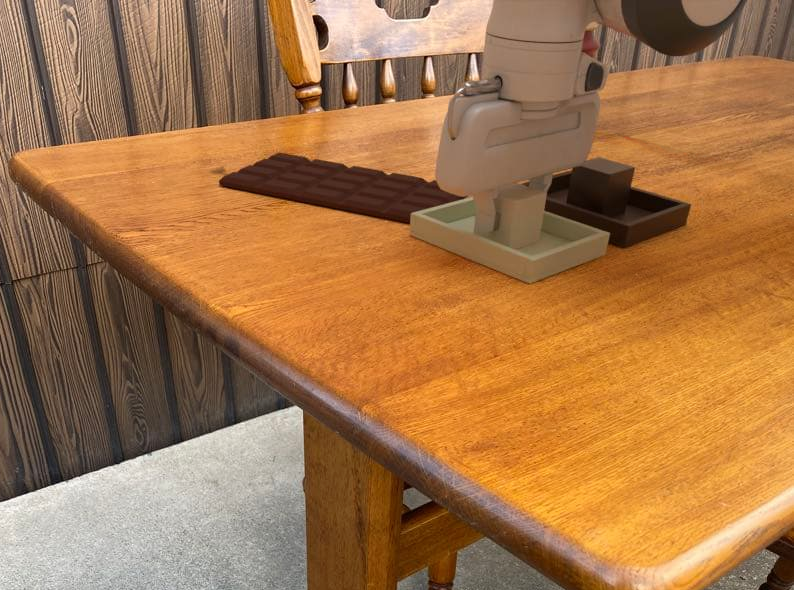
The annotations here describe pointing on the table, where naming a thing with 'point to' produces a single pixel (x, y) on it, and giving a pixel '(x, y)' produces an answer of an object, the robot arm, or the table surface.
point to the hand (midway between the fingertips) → (508, 224)
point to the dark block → (601, 186)
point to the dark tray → (635, 225)
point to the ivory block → (517, 216)
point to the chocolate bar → (340, 186)
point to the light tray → (549, 256)
